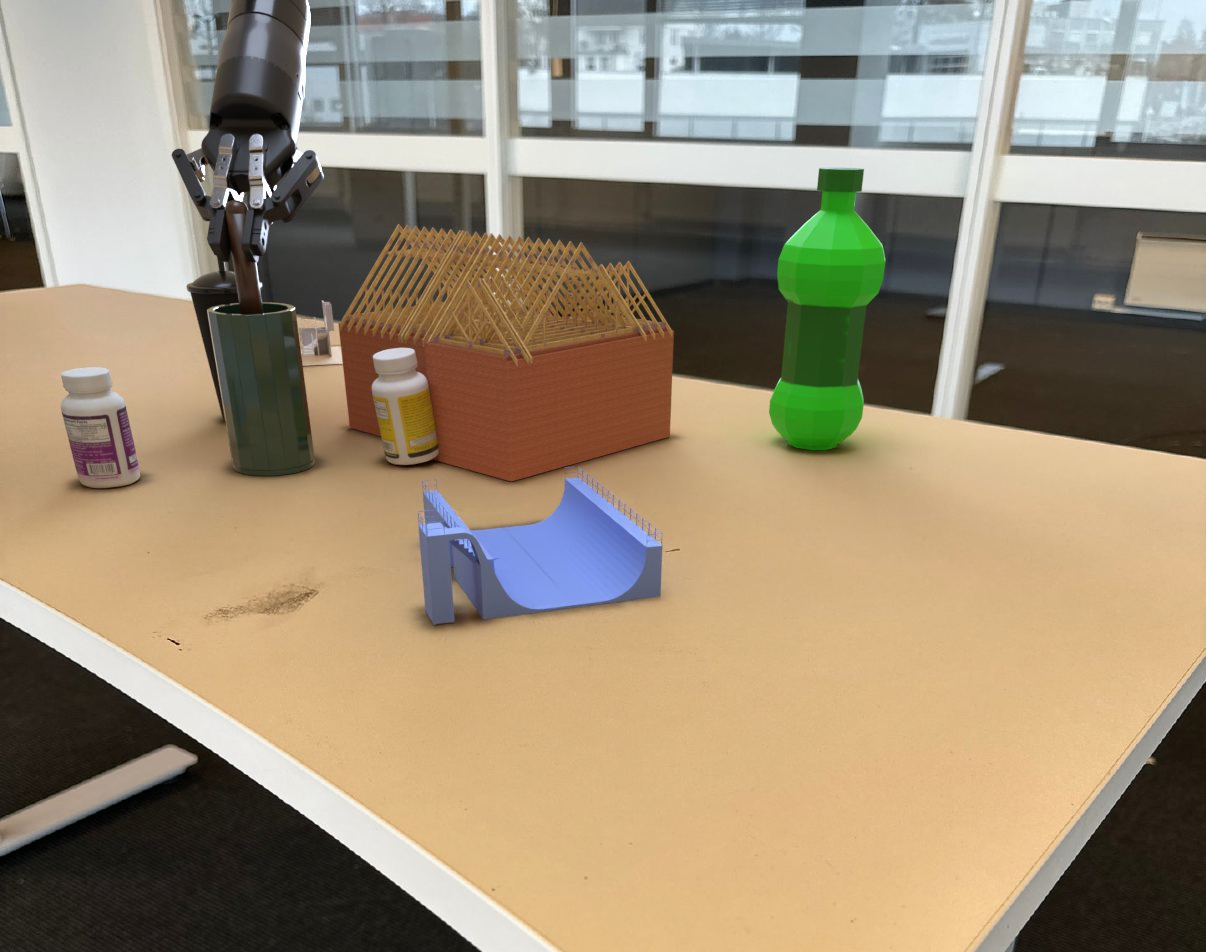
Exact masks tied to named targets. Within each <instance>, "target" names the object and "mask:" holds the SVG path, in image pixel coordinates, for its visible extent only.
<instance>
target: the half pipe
mask: <svg viewBox="0 0 1206 952" xmlns="http://www.w3.org/2000/svg"><path fill="white" fill-rule="evenodd" d="M570 468H571V469H572V468H573V466H566V469H570ZM579 470H581V473H580V472H579V471H572V472H570V474H575V473H576V474H578V475H581V478H580V476H577V477H575V476H574V477H564V487H563V488H564V489H563V494H562V498H561V500H560V502H559V504H558V505H557V507H556V508H555V510H554V511H553V512H552V513H551V514H550V515H549V516H547V517H546V518H545V519H543V520H540V521H539V522H536V523H531V524H524V525H523V524H521V525H514V526H505V527H496V528H495V527H494V528H485V529H473V530H472V529H470V528H469V527H468V526H467V525H466V523H465V522H464V521H463V520H462V518H461V517H460V516H459V514H457V512H456V511H455V510H454V509H453V508H452V506H451V505H450V504H449V502H448V501H447V500H446V498H444V496H443V495H442V494H441V493H440V492H439V490H438V489H436V490H430V488H429V486H428V485H427V484H426V483H425V482H427V481H428V482H429V481H430V479H428V480H427V479H425V480H421V483H422V484H421V485H422V489H423V490H425V491H422V502H423V510H418V511H417V522H418V524H417V525H418V526H417V528H418V537H419V538H418V539H419V551H420V561H421V573H422V574H421V575H422V576H421V577H422V588H423V598H424V610H425V613H426V615H427V616H428V618H429V619H430V621H431V623H432V625H433V626H436V625H440V624H446V623H447V624H449V623H452V624H455V609H454V608H455V607H454V606H455V605H454V597H453V596H454V593H453V578H454V580H455V581H456V583H457V584H458V585H459V587H460V589H461V590H462V591H463V593H464V594H465V595H466V597H467V598H468V600H469V602H470V603H471V604H472V605H473V607H474V608H475V610H476V612H478V614H479V616H480V617H481V618H482V620H484V621H485V620H491V619H492V620H493V619H500V618H507V617H514V616H515V617H516V616H523V615H529V614H531V615H532V614H538V613H544V612H553V611H562V610H568V609H569V610H570V609H576V608H583V607H591V606H599V605H607V604H614V603H621V602H623V603H624V602H629V601H630V602H631V601H637V600H645V599H654V598H661V597H662V596H661V595H662V573H663V571H662V568H663V567H662V566H663V563H662V562H663V538H662V537H659V536H658V535H663V532H662V531H660V530H659V529H658V528H657V527H655V526H654V525H653V524H651V522H649V521H647V520H646V519H645V518H644V517H642V515H640V514H639V513H637V512H636V511H635V510H634V509H633V508H631V507H629V505H628V504H626V503H625V502H623V501H622V500H621V499H620V498H618V497H617V496H616V495H615V494H613V493H612V492H611V491H609V490H608V489H607V488H606V487H605V486H603V485H602V484H601V483H599V482H598V481H597V480H596V479H594V478H593V477H592V476H590V475H589V474H588V473H587V472H586V471H584V470H583V469H582V468H581V467H579ZM584 473H585V474H586V477H585V476H584ZM589 478H591V481H590V480H589ZM584 479H585V480H586V482H585V481H584ZM434 481H435V485H434V484H433V485H432V484H431V485H430V487H435V486H436V487H437V486H438V483H437V481H438V479H436V478H435V479H434ZM594 481H595V482H596V485H595V484H594ZM589 483H590V484H591V486H590V485H589ZM599 485H600V486H601V488H602V489H600V488H599ZM594 487H595V488H596V490H595V489H594ZM427 489H428V490H427ZM604 490H606V491H608V493H610V494H611V495H612V498H611V497H610V496H609V495H607V493H605V492H604ZM599 491H600V492H601V494H600V493H599ZM604 495H605V496H607V498H608V499H610V500H612V503H611V502H609V500H608V499H606V498H605V497H604ZM615 498H616V499H618V502H621V503H623V506H624V507H622V506H621V504H620V503H617V502H616V501H615ZM615 504H617V505H618V507H619V508H617V507H616V506H615ZM626 507H628V508H629V511H628V510H626ZM620 508H622V510H623V512H622V511H620ZM632 511H633V512H634V513H635V516H634V515H632ZM420 512H421V513H422V512H423V515H424V517H423V516H422V515H421V514H420ZM626 513H628V514H629V517H628V516H627V515H626ZM632 517H633V518H634V519H635V522H634V521H633V520H632ZM638 517H640V518H641V521H640V520H638ZM420 519H421V520H420ZM423 521H424V523H423ZM644 521H645V522H647V523H648V527H647V526H646V525H645V524H644ZM638 522H639V523H641V527H640V526H639V525H638ZM420 523H421V524H420ZM651 526H652V527H653V528H654V532H653V530H651V529H650V527H651ZM644 527H645V528H646V529H648V533H647V531H645V530H644ZM657 531H658V532H659V533H658V534H657ZM650 532H651V534H650ZM652 535H654V537H652ZM657 537H658V538H659V541H661V543H660V542H659V541H658V540H657ZM452 567H453V578H452Z"/></svg>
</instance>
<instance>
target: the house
mask: <svg viewBox="0 0 1206 952" xmlns="http://www.w3.org/2000/svg"><path fill="white" fill-rule="evenodd" d="M399 233H400V236H399V237H398V239H397V241H396V243H394V241H395V239H396V238H397V236H398V234H399ZM404 239H405V240H406V241H405V242H404V244H403V245H402V243H403V241H404ZM476 241H477V242H476ZM393 243H394V245H393ZM392 245H393V247H392ZM401 245H402V247H401V249H400V250H399V248H400V246H401ZM509 245H510V246H511V247H510V246H509ZM409 246H411V248H410V249H408V248H409ZM519 246H520V247H521V248H520V247H519ZM391 247H392V248H391ZM489 247H490V248H489ZM390 248H391V251H389V250H390ZM529 248H530V249H529ZM538 248H540V250H541V251H539V249H538ZM549 249H550V251H551V253H550V252H549ZM559 250H560V251H561V253H562V254H560V252H559ZM445 251H446V252H445ZM570 251H571V253H572V255H571V254H570V253H569V252H570ZM470 252H471V253H470ZM494 253H495V254H494ZM515 253H516V254H517V255H516V254H515ZM581 253H582V254H583V256H584V257H585V259H586V260H587V262H588V263H589V264H590V267H591V268H589V266H588V265H587V263H586V262H585V261H584V258H583V257H582V256H581ZM525 254H526V255H525ZM386 255H387V257H386ZM395 256H396V258H395V259H394V261H393V263H392V264H391V266H390V268H389V270H388V271H387V272H386V275H385V276H384V278H383V279H382V276H383V275H384V273H385V271H386V270H387V268H388V266H389V265H390V263H391V261H392V260H393V258H394V257H395ZM526 256H527V257H526ZM535 256H536V257H537V258H536V257H535ZM385 257H386V259H385V261H384V263H382V262H383V259H384V258H385ZM404 257H405V258H404ZM544 257H546V258H547V260H546V259H545V258H544ZM402 258H404V259H403V261H402V263H401V265H400V266H399V268H398V269H397V271H396V273H395V275H394V276H393V278H392V280H391V282H390V283H389V285H388V286H387V288H386V290H385V291H384V288H385V287H386V285H387V284H388V282H389V280H390V279H391V277H392V275H393V273H394V272H395V270H396V268H397V267H398V265H399V263H400V261H401V260H402ZM411 258H413V259H412V262H411V263H410V265H409V267H408V269H407V270H406V272H405V274H404V275H403V277H402V279H401V280H400V282H399V284H398V286H397V287H396V289H395V290H394V292H393V289H394V287H395V285H396V284H397V282H398V280H399V279H400V277H401V275H402V274H403V272H404V271H405V268H406V267H407V265H408V263H409V261H410V260H411ZM555 258H556V259H557V262H556V260H555ZM421 259H422V260H421ZM420 260H421V262H420V264H419V266H418V268H417V269H416V270H415V273H414V274H413V276H412V278H411V279H410V281H409V282H408V279H409V278H410V276H411V274H412V272H413V271H414V269H415V267H416V265H417V264H418V262H419V261H420ZM565 260H567V261H568V263H567V262H566V261H565ZM521 261H522V262H521ZM576 261H577V262H578V263H579V265H580V266H581V267H582V268H581V269H580V268H579V266H578V264H577V263H576ZM531 262H532V263H531ZM381 264H382V266H381V268H380V270H379V271H378V272H377V274H376V276H375V278H374V279H373V277H374V275H375V273H376V271H377V270H378V268H379V266H380V265H381ZM425 266H428V267H427V269H426V270H425V272H424V274H423V275H422V277H421V279H420V280H419V282H418V284H417V285H416V287H415V289H414V291H413V292H412V294H411V296H410V292H411V290H412V289H413V287H414V285H415V283H416V282H417V280H418V278H419V276H420V275H421V273H422V271H423V270H424V268H425ZM476 270H477V271H476ZM484 270H485V271H486V272H485V271H484ZM630 271H631V273H632V275H633V277H634V278H635V280H636V281H637V284H639V286H640V288H641V289H642V291H643V293H644V294H643V295H641V293H640V291H639V290H638V289H637V287H636V285H635V284H634V282H633V280H632V279H631V277H630ZM431 273H433V275H432V277H431V278H430V280H429V281H428V283H427V285H426V287H425V289H424V290H423V292H422V294H421V295H420V297H419V293H420V291H421V289H422V288H423V286H424V285H425V283H426V281H427V279H428V277H429V276H430V274H431ZM538 273H539V274H538ZM558 276H559V277H558ZM622 276H624V277H625V280H626V285H625V283H624V282H623V280H622ZM533 277H534V278H535V279H534V278H533ZM597 277H598V279H597ZM613 277H614V279H612V278H613ZM588 278H589V279H588ZM372 279H373V281H372V283H371V285H370V286H369V288H368V285H369V284H370V282H371V280H372ZM381 279H382V282H381V283H380V285H379V286H378V288H377V290H376V287H377V285H378V283H379V282H380V280H381ZM543 279H544V280H545V282H544V281H543ZM553 281H554V282H553ZM407 282H408V285H407V286H406V288H405V290H404V292H403V293H402V294H401V291H402V289H403V288H404V286H405V284H406V283H407ZM554 283H555V284H554ZM563 283H564V284H565V285H566V287H567V289H566V288H565V286H564V285H563ZM616 283H617V285H616ZM441 284H442V285H443V287H442V285H441ZM582 285H583V286H582ZM539 286H540V287H539ZM574 286H575V287H576V288H575V287H574ZM630 287H631V288H632V290H633V292H634V294H635V295H634V296H632V295H631V293H630ZM541 288H542V289H541ZM621 288H622V290H623V292H624V294H625V295H626V296H625V298H624V297H623V295H622V294H621ZM550 289H551V290H552V291H551V290H550ZM604 289H605V290H604ZM559 290H560V291H561V292H562V294H563V295H564V296H563V295H562V294H561V292H560V291H559ZM587 290H588V292H586V291H587ZM596 290H597V291H596ZM437 291H438V295H437V297H436V299H435V300H434V296H435V294H436V293H437ZM578 291H579V292H578ZM363 294H364V296H363V298H362V300H361V302H360V304H359V305H358V306H357V304H358V303H359V301H360V299H361V297H362V295H363ZM372 294H373V295H372ZM445 294H446V299H445V300H444V302H443V297H444V296H445ZM371 295H372V298H371V300H370V302H369V299H370V297H371ZM380 295H381V298H380V300H379V302H378V303H377V301H378V299H379V297H380ZM582 297H583V299H582ZM388 298H389V301H388V302H387V304H386V301H387V299H388ZM397 298H398V301H397V303H396V305H395V307H394V303H395V301H396V299H397ZM637 298H638V302H636V300H637ZM645 298H647V299H648V301H649V302H650V304H651V306H652V307H653V309H654V310H655V312H656V313H657V316H658V317H659V319H660V320H661V321H658V320H657V319H656V318H655V316H654V314H653V313H652V311H651V310H650V308H649V306H648V304H647V303H646V302H645ZM520 299H521V300H522V301H521V300H520ZM603 300H604V301H603ZM405 301H406V304H405V306H404V307H403V304H404V303H405ZM414 301H415V305H414V306H412V305H413V303H414ZM559 301H560V302H559ZM509 302H510V303H509ZM561 304H562V305H563V307H564V308H563V307H562V305H561ZM365 305H366V309H365V310H364V312H362V311H363V309H364V308H365ZM553 305H554V306H553ZM640 305H642V306H643V309H644V310H645V311H646V312H647V315H648V316H649V318H650V319H651V320H647V318H646V317H645V316H644V314H643V312H642V311H641V309H640V307H639V306H640ZM356 306H357V309H356V310H355V312H354V313H353V314H352V312H353V310H354V309H355V308H356ZM631 306H633V309H632V310H631V308H630V307H631ZM373 307H374V310H373V311H372V309H373ZM526 307H527V308H528V309H527V308H526ZM598 307H599V308H598ZM381 309H382V310H381ZM581 309H582V310H581ZM361 312H362V313H361ZM635 312H637V315H639V317H640V318H636V317H635V315H634V313H635ZM560 314H561V316H560ZM612 314H613V315H612ZM338 333H339V342H340V346H341V352H342V361H343V364H342V369H343V378H344V387H345V396H346V407H347V415H348V424H349V428H350V429H353V430H356V431H360V432H364V433H368V434H371V435H375V436H378V437H381V433H380V428H379V424H378V419H377V414H376V409H375V404H374V400H373V395H372V384H373V382H374V381H375V380H376V379H377V378H378V377H379V374H378V373H376V371H375V367H374V362H373V355H374V354H376V353H378V352H380V351H383V350H388V349H394V348H411V349H414V350H415V354H416V359H417V367H416V372H419V373H421V374H423V375H424V376H425V377H426V379H427V381H428V385H429V390H430V396H431V402H432V408H433V415H434V421H435V427H436V434H437V442H438V450H439V453H438V455H437V456H436V457H435V458H433V459H432V460H433V461H436V462H440V463H444V464H447V465H450V466H455V467H457V468H462V469H464V470H469V471H472V472H476V473H479V474H483V475H486V476H489V477H493V478H498V479H501V480H504V481H507V482H514V481H518V480H522V479H525V478H528V477H529V478H530V477H532V476H536V475H539V474H543V473H546V472H550V471H553V470H557V469H560V468H565V467H569V466H571V465H574V464H578V463H581V462H585V461H589V460H593V459H596V458H599V457H603V456H606V455H610V454H614V453H616V452H617V453H618V452H620V451H624V450H628V449H631V448H635V447H638V446H642V445H645V444H648V443H652V442H656V441H660V440H662V439H663V440H664V439H666V438H670V437H671V417H672V396H673V395H672V392H673V391H672V390H673V368H674V367H673V365H674V364H673V363H674V338H675V331H674V330H673V329H672V328H671V327H670V325H669V323H668V322H667V320H666V318H665V317H664V315H663V314H662V311H661V310H660V309H659V307H658V305H657V304H656V302H655V301H654V298H652V295H651V294H650V293H649V291H648V289H647V288H646V286H645V284H644V283H643V281H642V279H641V278H640V276H639V275H638V273H637V271H636V270H635V267H633V265H632V263H631V262H630V260H627V261H626V263H625V264H624V265H623V264H622V263H621V262H620V261H618V262H617V264H616V265H615V266H614V265H613V264H612V262H609V264H608V265H607V266H606V268H605V266H604V264H603V263H600V264H599V265H598V264H597V263H596V262H595V261H594V258H593V257H592V255H591V254H590V252H589V250H588V249H587V248H586V246H585V245H584V244H583V242H582V241H580V242H579V244H578V246H577V247H575V245H574V243H573V242H572V240H570V241H569V242H568V244H567V245H566V247H565V245H564V244H563V242H562V241H561V239H558V241H557V243H556V245H554V244H553V242H552V240H551V239H550V238H548V239H547V241H546V242H545V244H544V243H543V241H542V240H541V238H540V237H538V238H537V239H536V241H535V243H534V241H532V239H531V238H530V236H528V237H526V239H525V241H524V239H522V237H521V236H520V235H518V236H517V238H516V240H514V239H513V237H512V236H511V235H510V234H508V236H507V237H506V238H505V239H504V238H503V236H502V235H501V233H498V235H497V237H496V236H494V234H493V233H492V232H490V233H489V235H488V233H487V232H484V233H483V235H482V237H481V236H480V234H479V233H478V232H477V231H474V233H473V235H472V236H471V234H470V232H469V231H468V230H464V229H463V230H461V229H459V230H458V231H457V233H456V234H455V232H454V231H453V229H452V228H450V229H449V231H448V232H446V231H445V230H444V229H443V228H442V227H441V228H440V230H439V232H438V231H437V230H436V229H435V227H431V229H430V231H429V230H428V229H427V227H426V226H423V227H422V229H419V228H418V226H417V225H414V227H413V228H411V227H410V226H409V225H408V224H406V225H405V227H404V228H403V226H401V224H399V223H398V224H397V226H396V227H395V229H394V230H393V232H392V234H391V236H390V237H389V238H388V241H387V242H386V243H385V246H384V247H383V249H382V251H381V252H380V254H379V256H378V257H377V259H376V261H375V263H374V265H373V266H372V268H371V269H370V271H369V273H368V275H367V276H366V278H365V280H364V281H363V283H362V285H361V286H360V288H359V290H358V291H357V293H356V295H355V296H354V299H353V300H352V301H351V303H350V305H349V307H348V308H347V310H346V312H345V314H344V315H343V317H342V319H341V320H340V322H339V323H338Z"/></svg>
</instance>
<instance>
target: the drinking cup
mask: <svg viewBox="0 0 1206 952" xmlns="http://www.w3.org/2000/svg"><path fill="white" fill-rule="evenodd" d="M216 259H217V266H218V267H217V268H218V270H216V271H211V272H208V273H205V274H203V275H200V276H198V277H197V278H195V279H194V280H193V281H192V282H189V283H187V284H186V290H187V292H188V293H189V294H190V296H191V300H192V305H193V309H194V312H195V316H196V321H197V324H198V327H199V328H198V329H199V331H200V335H201V338H202V339H201V340H202V343H203V347H204V351H205V355H206V358H207V359H206V360H207V363H208V366H209V370H210V374H211V378H212V383H213V386H214V390H215V394H216V398H217V401H218V405H219V409H220V413H221V417H222V420H223V422H226V421H225V415H224V409H223V403H222V397H221V391H220V385H219V379H218V373H217V367H216V361H215V355H214V349H213V343H212V337H211V331H210V325H209V319H208V313H207V309H209V308H211V307H214V306H219V305H225V304H234V303H239V299H238V292H237V286H236V279H235V273H234V271H233V270H227V269H226V262H220V261H219V260H218V258H217V257H216ZM259 284H260V291H261V290H263V288H264V286H263V285H264V284H263V282H261V281H259Z"/></svg>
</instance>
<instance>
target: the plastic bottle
mask: <svg viewBox="0 0 1206 952" xmlns="http://www.w3.org/2000/svg"><path fill="white" fill-rule="evenodd" d="M864 174H865V168H857V167H818V174H817V175H818V176H817V185H816V191H819V192H822V193H821V203H820V209H819V211H817V212H816V213H815V214H814V215H813V216H811V218H810V219H808V220H807V221H806V222H805V223H804V224H803V225H802V226H801V227H800V228H799V229H798V230H797V231H796V232H794V234H793V235H792V236H790V238H789V239H788V240H787V241H786V242H785V243H784V245H783V247H782V250H781V252H780V254H779V257H778V258H777V259H778V261H777V272H776V275H777V276H776V277H777V284H778V291H779V292H780V293H781V295H782V296H783V298H784V299H785V301H786V302H787V309H786V322H785V331H784V341H783V352H782V353H783V354H782V364H781V365H782V366H781V375H780V378H779V380H778V382H777V383H776V385H775V388H774V390H773V393H772V395H771V397H770V400H769V410H768V414H769V418H770V421H771V424H772V426H773V427H774V429H775V430H776V432H777V433H778V434H779V435H780V436H781V437H782V438H783V440H786V441H787V445H789V446H791V447H793V448H795V449H801V450H807V451H828V450H832V449H835V448H837V447H838V444H841V443H843V442H844V441H845V440H847V438H849V437H850V436H851V435H852V434H853V433H855V431H856V430H857V428H858V427H859V425H860V423H861V421H862V418H863V413H864V403H865V397H864V394H863V389H862V385H861V382H860V380H859V370H860V362H861V354H862V346H863V339H864V330H865V321H866V313H867V306H868V305H869V304H870V302H872V300H874V299H875V297H877V295H878V294H879V293H880V290H881V286H882V284H883V280H884V275H885V270H886V269H885V268H886V255H885V251H884V246H883V243H882V242H881V241H880V239H879V238H878V237H877V235H876V234H875V233H874V231H872V229H871V228H870V227H869V224H867V223H866V221H864V219H863V218H861V216H860V215H859V213H857V212H856V211H855V204H856V196H857V193H860V192H862V191H863V183H864Z"/></svg>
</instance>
